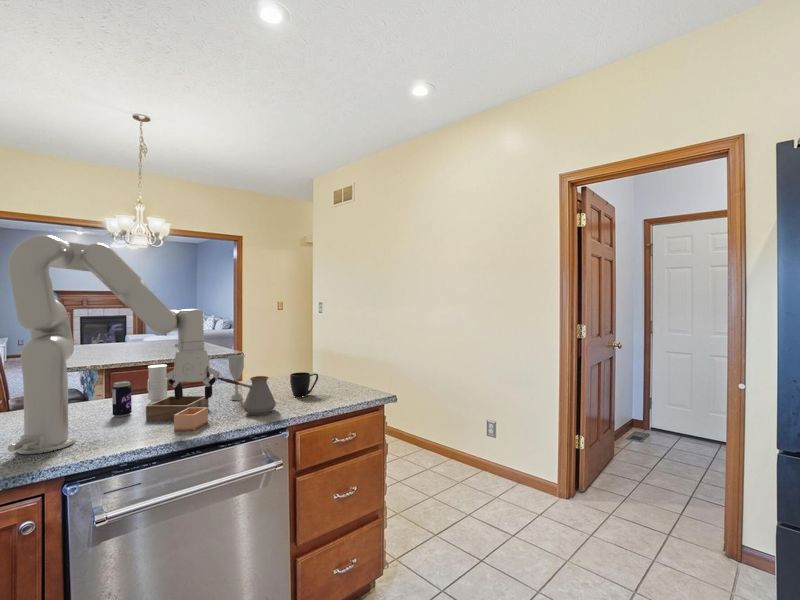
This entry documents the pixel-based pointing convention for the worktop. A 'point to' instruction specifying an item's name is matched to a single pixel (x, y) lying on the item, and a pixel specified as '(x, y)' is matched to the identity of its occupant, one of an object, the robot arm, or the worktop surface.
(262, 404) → the coffee pot
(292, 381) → the mug
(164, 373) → the candle
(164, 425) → the worktop surface
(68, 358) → the robot arm
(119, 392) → the beverage can
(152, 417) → the walnut crate
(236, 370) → the chalice
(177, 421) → the terracotta crate
